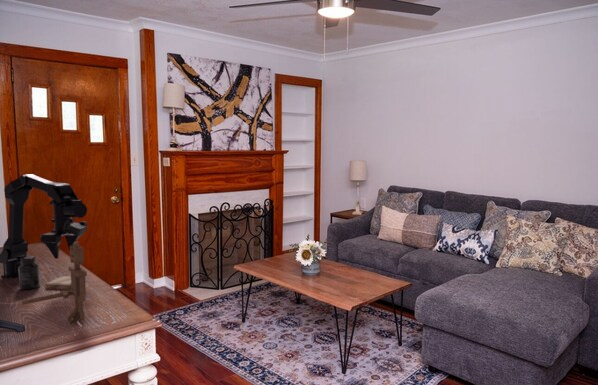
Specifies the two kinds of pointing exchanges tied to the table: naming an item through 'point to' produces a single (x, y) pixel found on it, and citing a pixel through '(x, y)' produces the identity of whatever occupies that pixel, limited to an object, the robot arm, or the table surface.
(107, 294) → the table surface
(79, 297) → the wooden figure
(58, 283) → the beige flat block
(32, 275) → the supplement bottle
